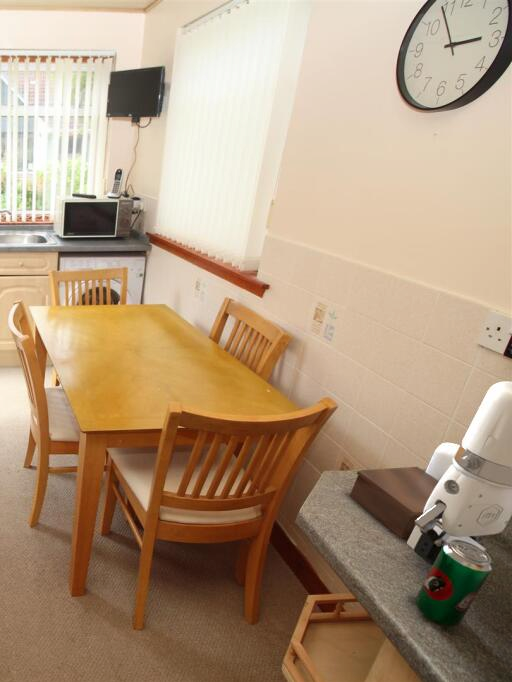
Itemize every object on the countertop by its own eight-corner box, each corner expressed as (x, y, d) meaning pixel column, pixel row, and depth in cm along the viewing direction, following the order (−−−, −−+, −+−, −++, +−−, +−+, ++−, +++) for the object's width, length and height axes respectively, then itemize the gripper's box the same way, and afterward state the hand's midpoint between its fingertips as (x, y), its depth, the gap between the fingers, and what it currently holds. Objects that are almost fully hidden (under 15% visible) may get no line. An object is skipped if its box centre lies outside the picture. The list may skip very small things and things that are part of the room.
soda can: (454, 636, 66) (492, 572, 61) (409, 610, 70) (442, 548, 65) (461, 616, 69) (498, 554, 64) (418, 592, 73) (449, 531, 68)
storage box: (405, 491, 95) (417, 466, 93) (464, 533, 85) (479, 507, 82) (347, 495, 93) (357, 470, 91) (400, 539, 83) (413, 512, 80)
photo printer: (411, 490, 96) (436, 438, 91) (427, 487, 97) (452, 435, 92) (469, 527, 86) (499, 471, 82) (486, 523, 87) (517, 468, 83)
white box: (431, 541, 80) (444, 518, 78) (472, 573, 74) (486, 549, 72) (406, 543, 79) (418, 520, 77) (445, 576, 73) (459, 551, 71)
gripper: (468, 484, 64) (416, 581, 71) (568, 478, 67) (508, 572, 74) (416, 451, 71) (373, 542, 78) (509, 446, 74) (459, 535, 81)
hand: (439, 556), depth 76 cm, fingers closed on white box, 5 cm apart
